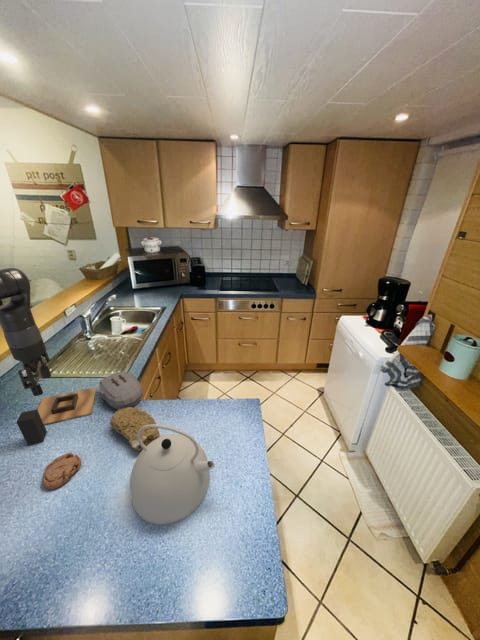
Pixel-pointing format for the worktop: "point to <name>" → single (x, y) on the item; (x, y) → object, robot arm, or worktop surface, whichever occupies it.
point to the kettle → (169, 477)
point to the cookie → (60, 470)
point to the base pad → (67, 406)
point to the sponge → (134, 426)
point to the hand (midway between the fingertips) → (43, 385)
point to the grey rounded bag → (121, 390)
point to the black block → (31, 427)
